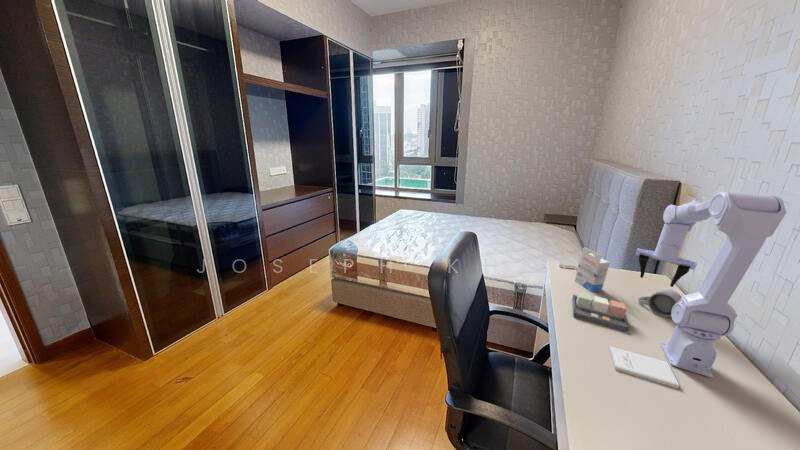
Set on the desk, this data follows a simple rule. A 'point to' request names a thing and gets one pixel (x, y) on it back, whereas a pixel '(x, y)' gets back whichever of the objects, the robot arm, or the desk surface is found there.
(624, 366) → the external hard drive
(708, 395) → the desk surface
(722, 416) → the desk surface
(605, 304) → the key cream
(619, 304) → the key terracotta
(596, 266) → the ink box
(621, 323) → the keypad
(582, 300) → the key sage
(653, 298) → the ceramic mug
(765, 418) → the desk surface
